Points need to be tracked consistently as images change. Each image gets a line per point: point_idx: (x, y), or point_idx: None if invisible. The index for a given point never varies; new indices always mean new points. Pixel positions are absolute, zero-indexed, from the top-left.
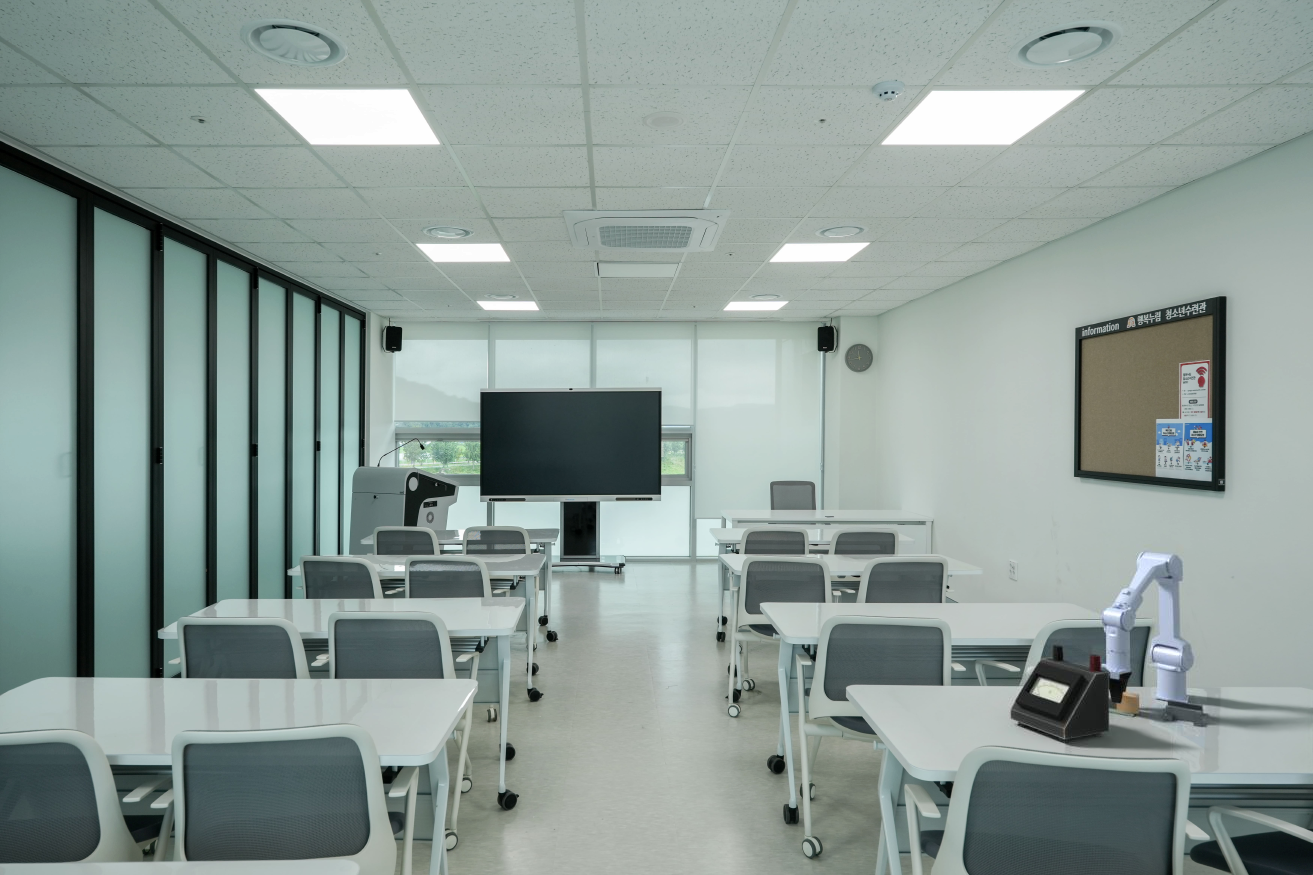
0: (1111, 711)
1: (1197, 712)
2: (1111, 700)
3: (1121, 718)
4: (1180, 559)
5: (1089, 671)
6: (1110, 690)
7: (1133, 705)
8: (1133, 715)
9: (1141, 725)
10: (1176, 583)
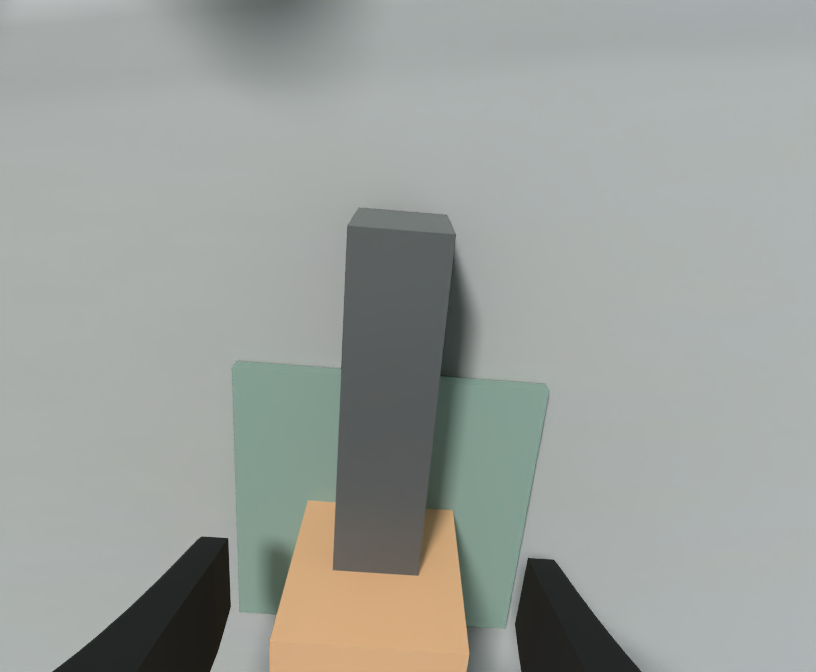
0: (236, 462)
1: None
2: (335, 514)
3: (110, 528)
4: None
5: None
6: (94, 649)
7: None
8: (249, 609)
9: (26, 647)
10: None
